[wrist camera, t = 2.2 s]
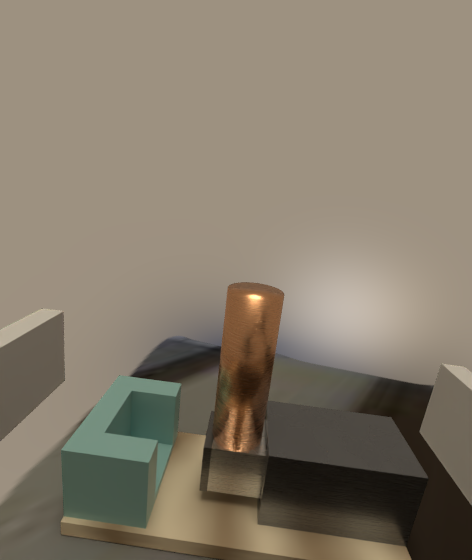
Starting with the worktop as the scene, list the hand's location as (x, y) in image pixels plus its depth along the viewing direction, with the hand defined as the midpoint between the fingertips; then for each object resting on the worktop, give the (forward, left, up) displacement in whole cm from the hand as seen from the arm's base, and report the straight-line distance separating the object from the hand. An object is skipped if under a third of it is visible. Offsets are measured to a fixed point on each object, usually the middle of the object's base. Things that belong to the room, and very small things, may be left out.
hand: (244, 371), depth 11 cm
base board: (-1, -12, -19) cm, 22 cm away
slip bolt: (-5, -11, -16) cm, 21 cm away
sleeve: (-8, -11, -18) cm, 23 cm away
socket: (+8, -12, -18) cm, 23 cm away
